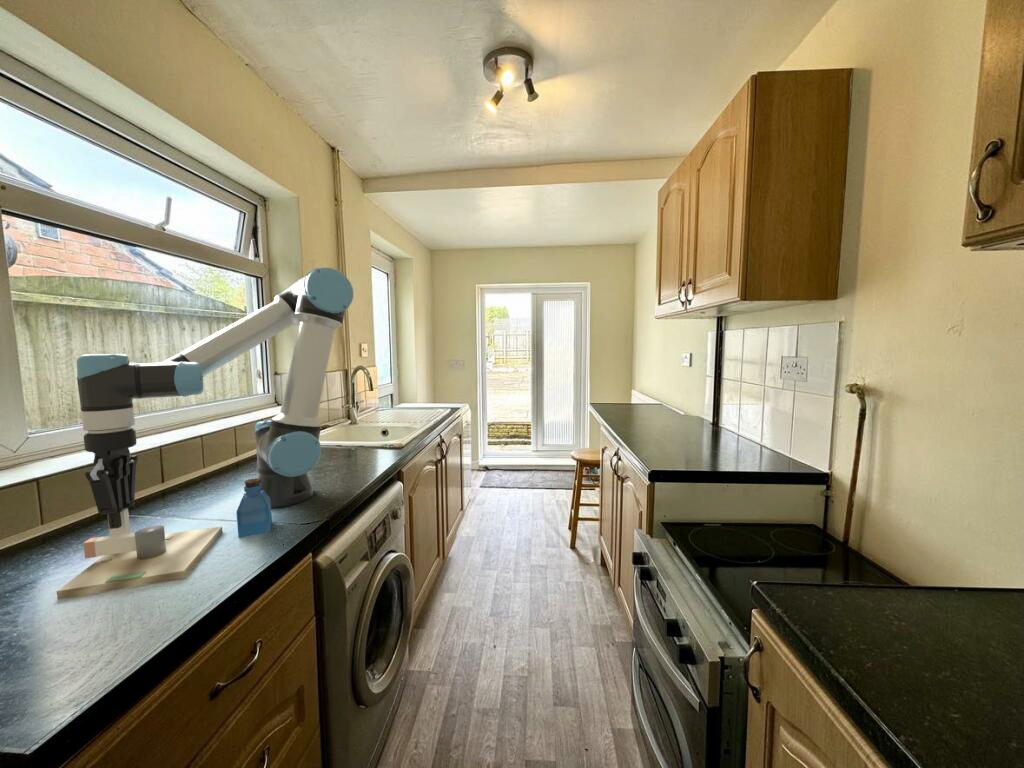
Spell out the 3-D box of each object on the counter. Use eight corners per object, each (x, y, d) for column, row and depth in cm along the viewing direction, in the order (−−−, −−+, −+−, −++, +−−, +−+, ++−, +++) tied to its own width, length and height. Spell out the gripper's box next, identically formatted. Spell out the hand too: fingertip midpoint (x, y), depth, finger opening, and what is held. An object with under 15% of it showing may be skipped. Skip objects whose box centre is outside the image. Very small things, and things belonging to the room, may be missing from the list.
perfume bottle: (238, 538, 90) (234, 486, 89) (242, 527, 96) (238, 479, 95) (270, 532, 93) (266, 482, 92) (271, 522, 99) (268, 474, 98)
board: (222, 532, 93) (221, 525, 93) (184, 578, 74) (183, 569, 74) (125, 546, 87) (124, 538, 87) (57, 599, 69) (56, 590, 68)
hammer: (170, 547, 84) (168, 523, 83) (159, 557, 79) (157, 532, 79) (96, 557, 80) (94, 533, 79) (81, 568, 76) (78, 543, 75)
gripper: (106, 425, 87) (117, 530, 89) (62, 437, 74) (75, 559, 76) (149, 422, 89) (158, 525, 91) (113, 434, 77) (125, 552, 79)
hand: (120, 540), depth 84 cm, fingers closed
